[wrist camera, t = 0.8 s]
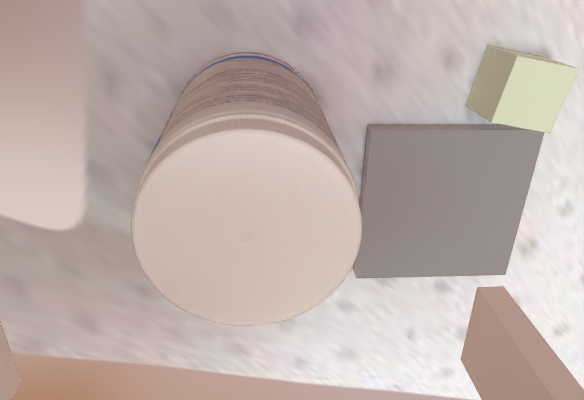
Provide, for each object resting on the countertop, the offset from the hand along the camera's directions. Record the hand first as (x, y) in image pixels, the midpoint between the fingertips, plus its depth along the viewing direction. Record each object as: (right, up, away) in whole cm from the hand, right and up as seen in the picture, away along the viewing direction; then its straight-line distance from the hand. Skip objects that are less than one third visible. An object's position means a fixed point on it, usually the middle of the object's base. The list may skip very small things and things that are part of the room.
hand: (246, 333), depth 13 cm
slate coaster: (+12, +4, +22) cm, 26 cm away
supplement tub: (-2, +9, +19) cm, 21 cm away
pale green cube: (+16, +12, +18) cm, 27 cm away
